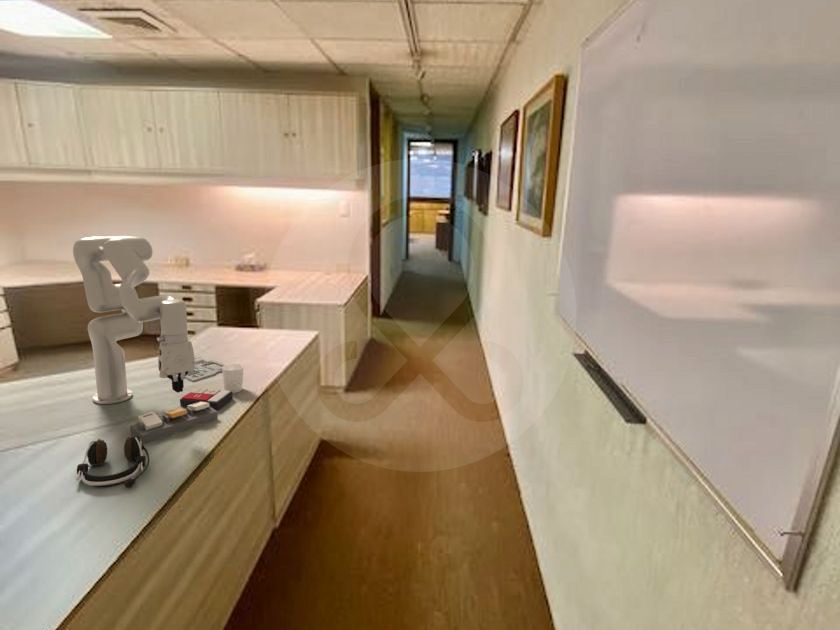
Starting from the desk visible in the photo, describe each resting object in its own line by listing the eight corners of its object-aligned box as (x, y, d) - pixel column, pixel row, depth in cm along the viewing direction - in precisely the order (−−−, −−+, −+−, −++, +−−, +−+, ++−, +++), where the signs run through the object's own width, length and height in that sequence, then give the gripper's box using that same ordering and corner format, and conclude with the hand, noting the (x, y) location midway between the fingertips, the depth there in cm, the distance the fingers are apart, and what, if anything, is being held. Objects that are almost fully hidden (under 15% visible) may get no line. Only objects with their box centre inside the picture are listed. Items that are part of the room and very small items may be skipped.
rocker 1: (146, 430, 151) (146, 426, 151) (138, 419, 154) (138, 415, 154) (162, 425, 155) (162, 421, 155) (153, 414, 158) (154, 411, 158)
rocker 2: (196, 410, 163) (195, 406, 163) (187, 409, 167) (187, 405, 167) (209, 406, 167) (208, 402, 167) (201, 405, 171) (200, 401, 171)
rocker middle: (172, 418, 157) (171, 413, 157) (164, 416, 161) (163, 412, 161) (186, 413, 161) (186, 409, 161) (178, 412, 165) (178, 408, 164)
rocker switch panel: (142, 443, 150) (141, 430, 148) (130, 433, 155) (129, 420, 154) (217, 418, 169) (217, 406, 168) (204, 410, 174) (204, 398, 173)
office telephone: (161, 364, 209) (202, 353, 226) (161, 369, 210) (202, 358, 226) (192, 377, 197) (234, 365, 214) (193, 383, 198) (234, 370, 214)
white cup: (223, 394, 188) (223, 371, 186) (221, 387, 195) (221, 364, 193) (244, 392, 192) (244, 369, 190) (242, 385, 199) (241, 362, 196)
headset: (151, 428, 144) (145, 472, 127) (152, 448, 147) (147, 494, 130) (83, 435, 137) (67, 483, 120) (86, 457, 140) (71, 506, 123)
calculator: (196, 386, 186) (232, 389, 184) (197, 396, 187) (233, 399, 185) (179, 397, 176) (217, 400, 174) (180, 408, 177) (218, 411, 175)
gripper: (156, 345, 145) (160, 400, 149) (203, 336, 156) (205, 388, 161) (145, 339, 149) (149, 394, 153) (191, 331, 161) (194, 382, 165)
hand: (178, 390), depth 157 cm, fingers closed
